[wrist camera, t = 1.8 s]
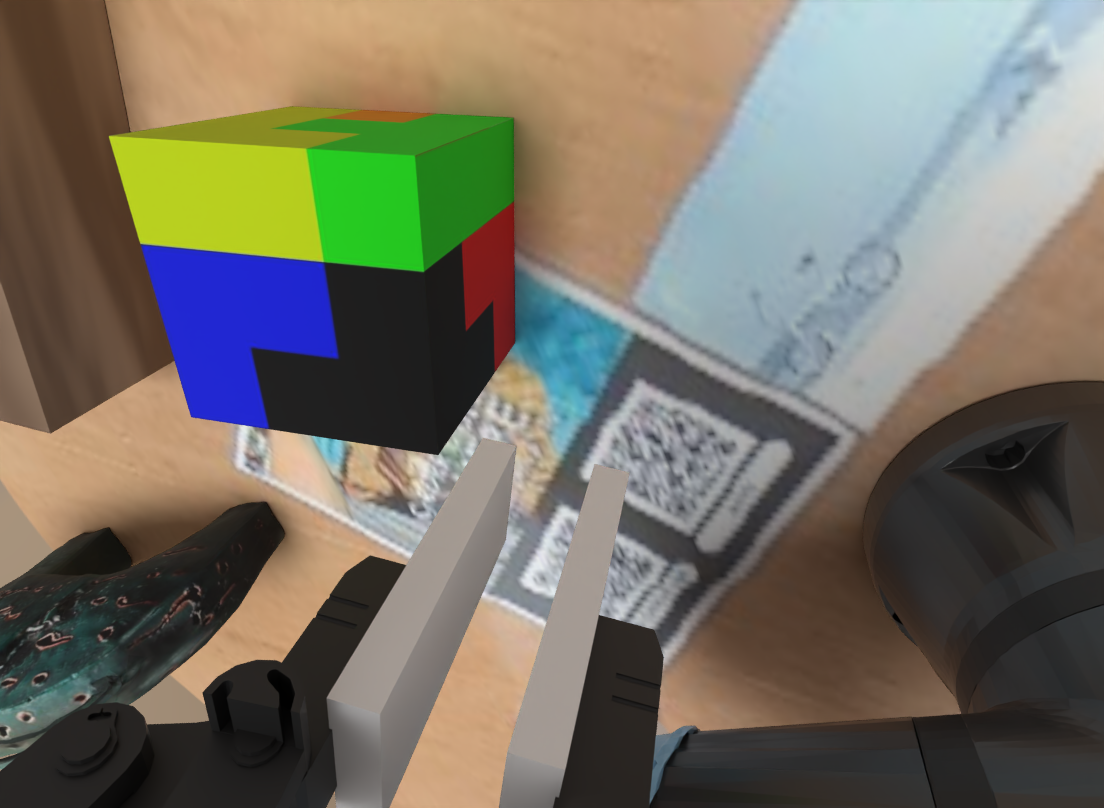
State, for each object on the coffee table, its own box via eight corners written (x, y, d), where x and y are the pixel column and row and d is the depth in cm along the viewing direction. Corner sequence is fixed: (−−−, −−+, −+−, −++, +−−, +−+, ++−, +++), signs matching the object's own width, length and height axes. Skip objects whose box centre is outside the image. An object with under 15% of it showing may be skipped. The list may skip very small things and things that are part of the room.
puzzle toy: (327, 320, 33) (191, 417, 25) (292, 106, 28) (108, 136, 20) (515, 342, 31) (438, 454, 23) (513, 117, 27) (415, 155, 18)
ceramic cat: (101, 581, 49) (-227, 869, 32) (47, 514, 47) (-341, 787, 30) (309, 552, 42) (30, 899, 25) (258, 471, 40) (-90, 796, 23)
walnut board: (89, -74, 27) (-129, -112, 20) (174, 360, 37) (50, 433, 30) (26, -82, 27) (-209, -123, 20) (128, 349, 37) (-6, 419, 30)
